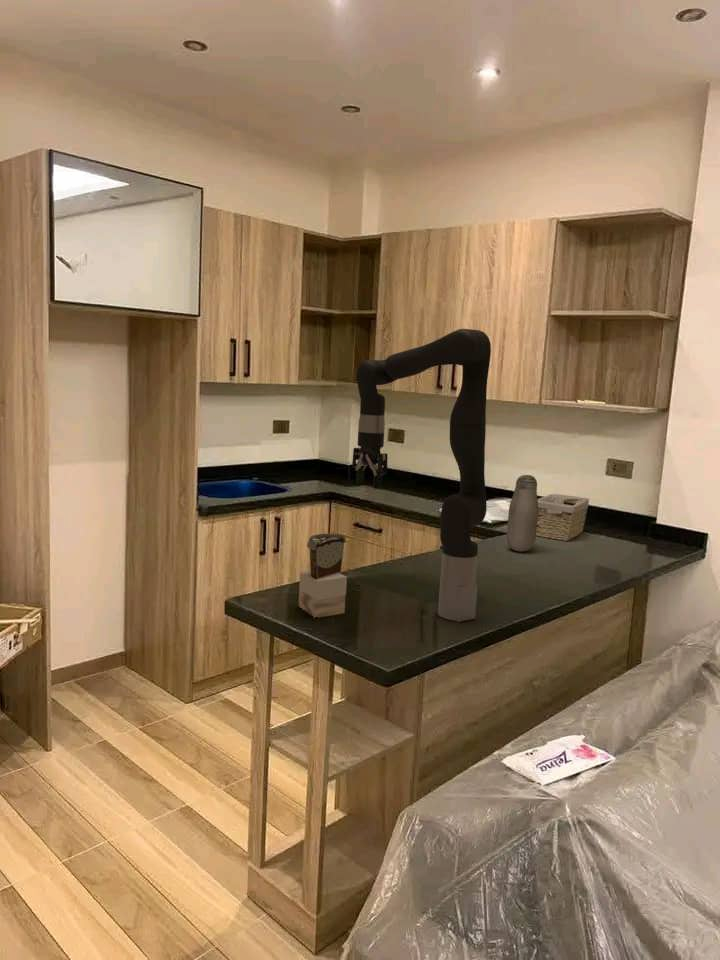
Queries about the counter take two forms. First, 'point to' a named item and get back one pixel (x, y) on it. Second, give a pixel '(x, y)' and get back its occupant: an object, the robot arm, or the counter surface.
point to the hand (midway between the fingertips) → (368, 486)
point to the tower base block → (322, 605)
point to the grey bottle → (523, 514)
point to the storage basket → (561, 516)
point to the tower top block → (323, 585)
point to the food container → (326, 554)
